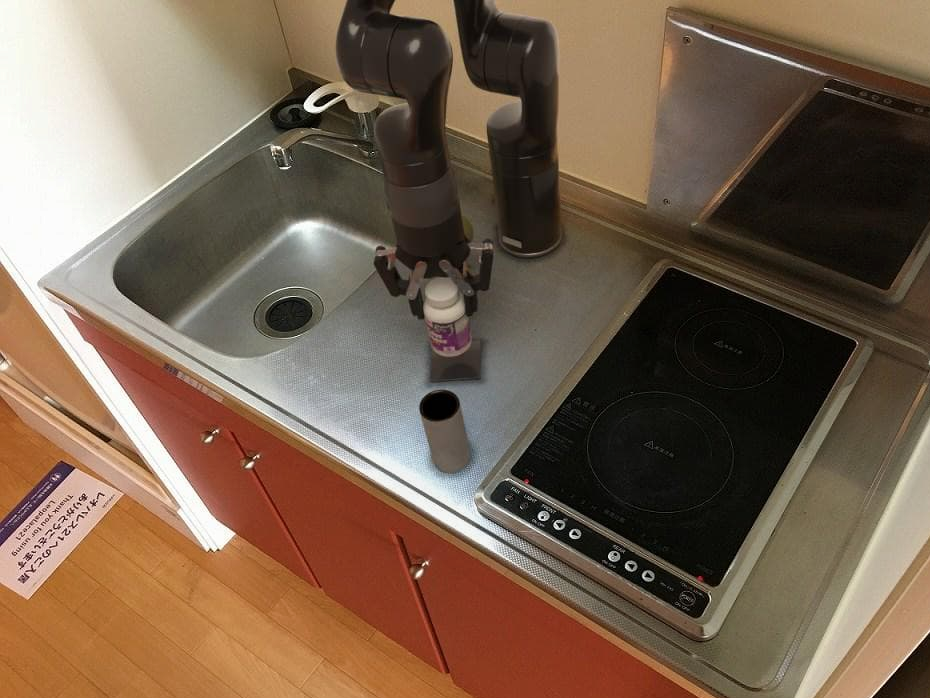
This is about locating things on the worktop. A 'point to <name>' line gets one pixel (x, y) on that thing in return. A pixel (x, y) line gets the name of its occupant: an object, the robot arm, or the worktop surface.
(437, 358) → the metal coaster
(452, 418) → the grey hollow cylinder
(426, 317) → the pill bottle
